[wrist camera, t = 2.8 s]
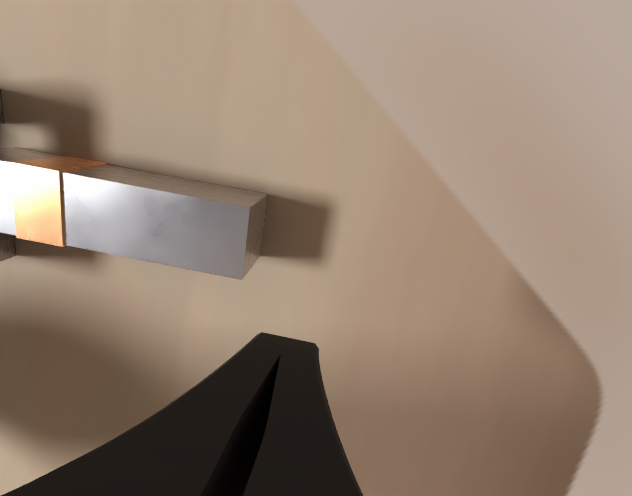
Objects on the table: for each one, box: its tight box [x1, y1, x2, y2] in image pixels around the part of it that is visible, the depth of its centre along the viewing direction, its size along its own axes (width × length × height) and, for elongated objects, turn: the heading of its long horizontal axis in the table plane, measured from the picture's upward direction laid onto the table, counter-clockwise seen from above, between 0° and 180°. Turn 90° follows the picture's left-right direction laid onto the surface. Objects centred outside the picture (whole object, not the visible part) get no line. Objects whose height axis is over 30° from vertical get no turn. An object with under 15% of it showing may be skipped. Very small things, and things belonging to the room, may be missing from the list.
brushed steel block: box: [0, 148, 268, 280], centre depth 16 cm, size 12×3×3 cm, turn 80°
